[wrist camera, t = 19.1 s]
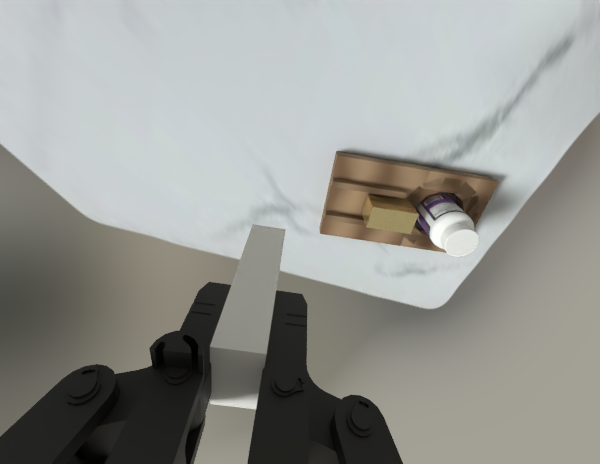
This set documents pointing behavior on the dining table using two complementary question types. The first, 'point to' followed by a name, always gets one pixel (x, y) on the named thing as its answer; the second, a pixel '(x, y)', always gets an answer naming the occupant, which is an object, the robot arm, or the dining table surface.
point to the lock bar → (389, 214)
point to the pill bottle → (447, 225)
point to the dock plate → (394, 196)
